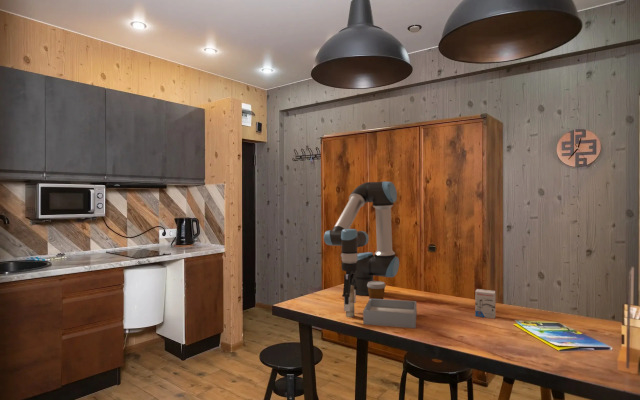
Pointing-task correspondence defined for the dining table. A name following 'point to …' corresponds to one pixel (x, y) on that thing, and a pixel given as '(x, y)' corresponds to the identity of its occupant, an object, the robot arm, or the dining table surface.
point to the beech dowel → (351, 303)
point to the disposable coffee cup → (376, 289)
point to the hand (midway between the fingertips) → (350, 306)
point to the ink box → (485, 303)
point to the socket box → (390, 313)
